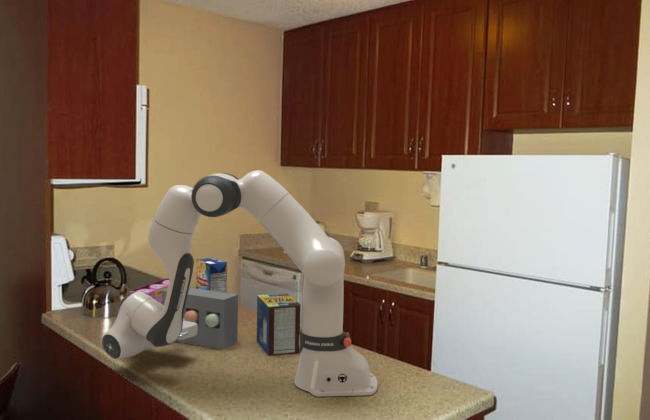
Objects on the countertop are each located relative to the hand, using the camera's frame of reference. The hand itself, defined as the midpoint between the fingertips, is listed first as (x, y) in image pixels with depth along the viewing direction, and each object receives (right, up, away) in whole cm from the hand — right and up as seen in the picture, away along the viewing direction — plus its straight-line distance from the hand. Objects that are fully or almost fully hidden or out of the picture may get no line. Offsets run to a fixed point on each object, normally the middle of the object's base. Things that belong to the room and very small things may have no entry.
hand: (181, 320), depth 176 cm
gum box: (-16, -7, +29) cm, 34 cm away
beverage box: (+2, -7, +34) cm, 35 cm away
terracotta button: (+2, -2, +5) cm, 6 cm away
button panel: (+3, -8, +9) cm, 13 cm away
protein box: (+29, -10, +5) cm, 31 cm away
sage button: (+10, -2, +2) cm, 10 cm away
